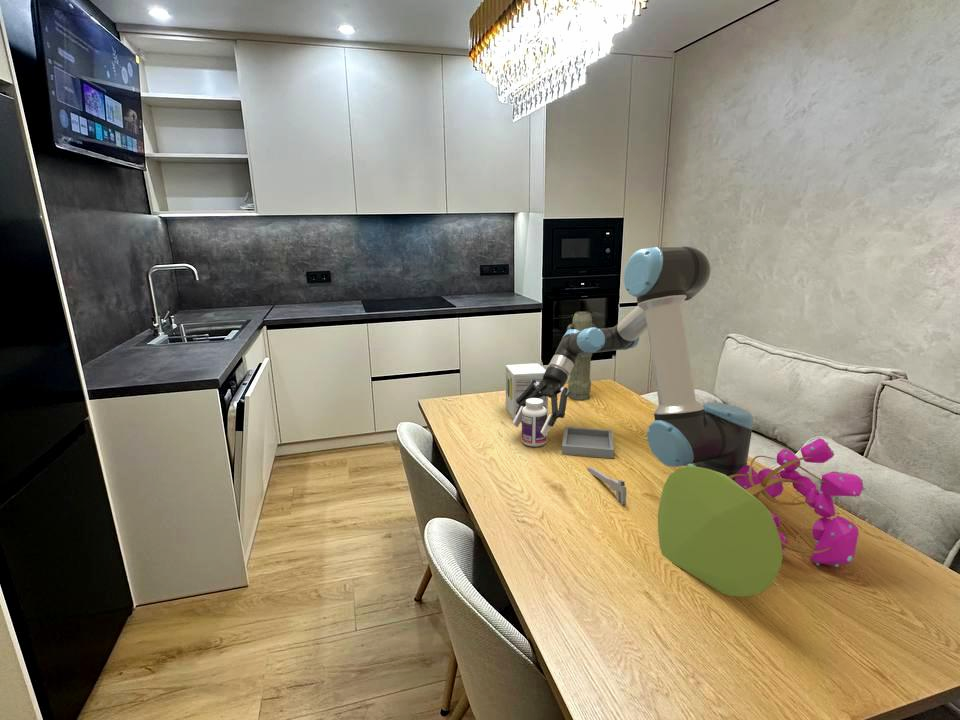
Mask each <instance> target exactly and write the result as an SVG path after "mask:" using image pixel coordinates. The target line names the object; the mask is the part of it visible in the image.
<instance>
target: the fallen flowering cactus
mask: <svg viewBox="0 0 960 720" xmlns="http://www.w3.org/2000/svg"><path fill="white" fill-rule="evenodd" d="M800 454H801V456H802V457H798V456H797V455H796V454H795V453H794V452H792V450H789V449H787V448H784V449H783V448H782V449H781V450H780V451H779V452H778V453H777V455H776V458H775V457H770V456H765V455H756V456H755V457H753V458H752V460H751V461H750V465H748V464H747V465H745V466H743V467H742V468H741V469H740V470H739V471H738V472H737V474H735V475H730V476H726V475H724V474H722V473H719V472H716V471H713V470H709V469H705V468H700V467H696V466H695V465H694V464H688V465H687V466H682V467H681V468H678V469H676V470H674V471H673V472H672V473H671V474H669V476H668V477H667V479H666V481H665V482H664V485H663V488H662V492H661V495H660V499H659V500H660V501H659V504H658V511H657V533H658V540H659V548H660V551H661V553H662V555H663V556H664V558H666V559H667V560H668V561H669V562H671V563H673V564H674V565H675V566H678V567H679V568H680V569H682V570H684V571H686V572H687V573H688V574H690V575H691V576H693V577H695V578H697V579H698V580H700V581H702V582H703V583H705V584H707V585H708V586H709V587H711V588H713V589H714V590H716V591H718V592H720V593H721V594H724V595H726V596H729V597H751V596H754V595H757V594H758V595H759V594H760V593H763V592H765V591H766V590H768V589H769V588H770V587H771V586H772V584H773V583H774V581H775V579H776V578H777V575H778V574H779V571H780V569H781V565H782V563H783V560H784V559H783V550H786V549H787V550H791V551H793V552H796V553H801V554H808V555H810V561H812V562H813V563H814V564H815V565H816V566H821V565H828V566H834V567H836V568H838V567H839V566H842V565H848V564H851V563H852V561H853V560H854V558H855V554H856V548H857V543H858V539H859V534H860V533H859V527H858V526H857V525H856V524H855V523H853V522H852V521H850V520H848V519H847V518H845V517H843V516H840V515H837V516H836V508H835V505H834V503H835V502H834V500H833V499H834V498H836V497H855V498H856V497H860V496H861V494H862V492H865V491H866V490H867V489H866V487H864V483H863V481H864V479H862V478H861V477H860V476H859V475H857V474H854V473H848V472H847V473H846V472H843V471H831V472H827V473H824V474H822V475H821V478H819V477H818V476H816V475H814V474H813V473H811V472H810V471H808V470H807V469H805V468H803V467H802V466H801V461H802V460H803V461H804V462H806V463H812V464H813V463H814V464H815V463H816V464H824V463H826V462H828V461H830V460H831V459H832V458H834V457H835V453H834V450H833V449H832V448H831V447H830V446H829V442H828V441H826V440H824V439H823V438H820V437H819V438H817V439H815V440H813V441H810V443H808V444H806V445H804V446H802V447H801V448H800ZM757 458H767V459H772V460H776V463H777V464H778V465H779V466H778V467H776V468H774V469H772V468H767V467H766V468H764V469H762V470H759V472H757V471H756V470H755V468H754V467H753V464H754V461H755V460H756V459H757ZM797 469H801V470H802V471H804V472H806V473H807V474H809V475H810V476H812V477H813V478H815V479H817V482H818V483H820V485H819V487H820V491H821V492H820V491H819V489H818V488H817V485H816V484H815V483H814V481H813V480H812V479H811V478H810V477H808V476H806V475H802V474H800V473H799V472H798V471H797ZM733 478H735V482H734V481H733ZM783 483H792V487H793V489H794V490H795V491H796V492H798V493H799V494H800V496H797V497H795V498H793V499H792V502H787V501H781V500H778V499H775V498H776V497H778V496H780V495H781V494H783V491H784V486H783ZM760 493H761V494H762V495H763V496H764V497H765V498H766V499H767V500H769V501H770V502H772V503H775V504H777V505H779V506H780V505H781V506H798V505H804V504H807V505H808V506H809V507H810V508H811V509H814V512H815V514H817V515H818V516H819V517H820V516H821V517H820V518H818V519H817V520H816V521H815V522H814V524H813V525H812V528H807V529H805V530H803V531H801V533H799V534H798V536H797V538H796V539H795V542H794V544H795V547H794V546H792V545H790V544H788V541H787V537H786V536H784V534H783V533H782V532H781V531H779V530H778V528H779V527H780V526H781V519H780V517H778V516H777V515H776V514H774V513H772V512H771V511H770V510H769V509H768V508H767V507H766V506H765V504H764V503H763V502H761V501H760ZM803 497H804V498H805V499H804V500H805V501H801V502H795V500H797V499H798V498H803ZM834 516H835V517H834ZM832 517H833V518H832ZM830 518H832V519H830ZM809 530H812V531H811V532H812V537H813V539H814V540H815V543H816V545H815V548H814V550H807V549H806V550H805V549H800V547H799V546H798V541H799V539H800V537H801V536H802V535H803V534H804V533H805V532H807V531H809ZM820 564H821V565H820Z"/></svg>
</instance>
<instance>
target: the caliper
mask: <svg viewBox="0 0 960 720" xmlns="http://www.w3.org/2000/svg"><path fill="white" fill-rule="evenodd" d="M586 470H587V471H588V472H589V473H590V474H591V475H592V476H594V477H596V478H598V479H599V480H601V481H602V482H603V483H605V484H606V485H608V486H609V489H610V490H612V491H615V494H616V499H617V500H616V501H617V503H620V505H621V506H624V505H626V504H627V497H628V495H627V486H626V484H625V482H626V481H623V480H622V479H619V480H617V479H614V478H613V477H612V478H611V477H609V476H608V475H606V474H604V473H603V472H601V471H599V470H597V468H595V467H593V466H588V467H586Z"/></svg>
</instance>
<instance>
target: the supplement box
mask: <svg viewBox="0 0 960 720" xmlns="http://www.w3.org/2000/svg"><path fill="white" fill-rule="evenodd" d="M545 371H546V369H545V367H544V366H542V365H541V364H540V363H537V362H536V363H535V362H534V363H533V362H532V363H517V364H515V363H514V364H506V365H505V409H506V411H507V410H508V411H507V412H508V414H509V413H510V414H509V415H510V417H511V419H512V420H513V421H514V419H515V417H516V411H517V409H518V407H519V405H518V404H517V402H516V400H517V399H518V398H519V397H520V396H521V395H522V393H523V392H524V391H525V390H526V389H527V388H528V387H529V386H530V384H531V382H532V380H536V381H538V382H540V381H541V380H542V379H543V375H544V373H545ZM538 387H539V386H538ZM536 389H537V388H536ZM534 392H535V391H534ZM534 392H533V393H534ZM539 393H541V392H539ZM539 399H542V400H543V407H545V408H546V410H547V412H548V408H549V407H548V406H549V405H548V404H549V403H548V402H549V397H548V396H542V397H539Z"/></svg>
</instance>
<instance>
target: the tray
mask: <svg viewBox="0 0 960 720" xmlns="http://www.w3.org/2000/svg"><path fill="white" fill-rule="evenodd" d="M562 436H563V437H562V444H561V455H568V456H578V457H579V456H580V457H589V458H591V457H592V458H593V457H594V458H602V459H603V458H604V459H614V458H615V457H614V454H615V449H614V446H615V445H614V435H613V430H612V429H604V428H603V429H602V428H601V429H600V428H590V427H578V426H577V427H573V426H564V430H563V435H562Z"/></svg>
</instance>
